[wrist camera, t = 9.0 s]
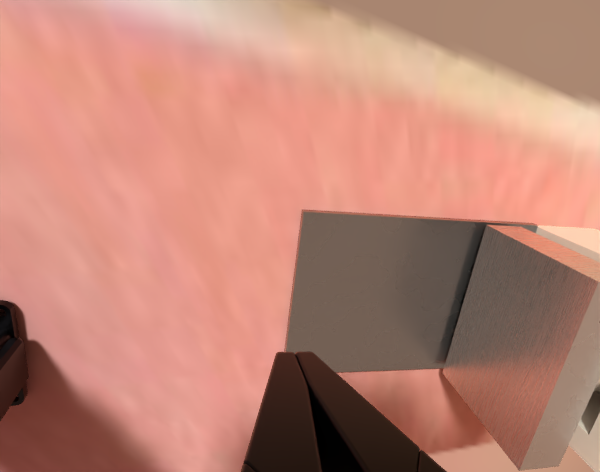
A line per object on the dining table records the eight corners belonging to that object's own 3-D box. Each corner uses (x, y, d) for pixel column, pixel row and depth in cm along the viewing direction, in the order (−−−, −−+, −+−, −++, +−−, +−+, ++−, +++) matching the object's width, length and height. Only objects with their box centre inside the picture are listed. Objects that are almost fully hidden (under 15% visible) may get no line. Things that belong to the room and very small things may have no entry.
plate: (282, 370, 25) (282, 374, 25) (302, 209, 22) (303, 211, 21) (486, 362, 29) (489, 366, 28) (533, 223, 25) (538, 225, 25)
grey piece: (442, 373, 27) (519, 470, 20) (486, 224, 23) (599, 282, 16) (537, 368, 29) (638, 457, 22) (592, 230, 25) (733, 284, 18)
